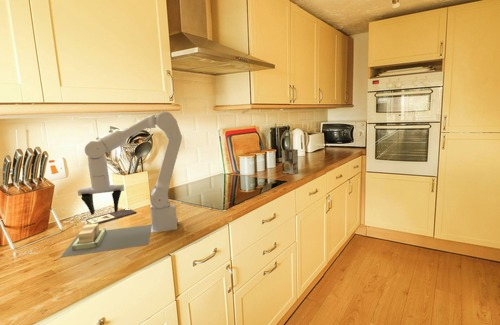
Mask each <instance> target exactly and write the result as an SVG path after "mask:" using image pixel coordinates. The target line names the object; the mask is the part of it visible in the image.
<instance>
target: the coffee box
mask: <svg viewBox="0 0 500 325" xmlns="http://www.w3.org/2000/svg"><path fill="white" fill-rule="evenodd" d="M298 153H299V152H298V149H293V148H285V149H282V150H281V162H282V163H281V165H282V166H281V168H282V169H281V170H282V174H286V173H289V174H288V175H296V174H298V173H299V160H298V159H299V158H298V156H299V155H298ZM295 173H296V174H295Z"/></svg>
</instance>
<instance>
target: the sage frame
mask: <svg viewBox="0 0 500 325" xmlns="http://www.w3.org/2000/svg"><path fill="white" fill-rule="evenodd" d="M106 230H107V228H99V232H100V234H99V236H98V237H97V239H96V241H95V242H89V243H82V244H79V237H78V239H77V240H76V241H75V242H74V244H73V245H72V250H79V249H86V248H93V247H98V246H99V244H100V242H101V241H102V239H103V237H104V235H105V234H106Z"/></svg>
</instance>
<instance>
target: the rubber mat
mask: <svg viewBox="0 0 500 325" xmlns="http://www.w3.org/2000/svg"><path fill="white" fill-rule="evenodd" d="M151 228H152V224H145V225H144V224H143V225H137V226H129V227H122V228H114V229H106V234H105V235H104V237H103V239H102V241H101V242H100V244H99V246H98V247H93V248H86V249H79V250H72V245H73V244H74V242H75V241H76V240H77V239H78V234H77V235H76V236H75V238H74V239H73V241H72V242H71V243H70V245H69V246H68V247H67V248H66V250H64V252H63V253H62V254H61V256H60V257H59V258H68V257H73V256H79V255H80V256H81V255H87V254H95V253H101V252H102V253H103V252H108V251H116V250H121V249H122V250H123V249H128V248H129V249H130V248H135V247H136V248H137V247H144V246H149V243H150V238H151V234H152V233H151Z"/></svg>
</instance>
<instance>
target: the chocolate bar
mask: <svg viewBox="0 0 500 325" xmlns="http://www.w3.org/2000/svg"><path fill="white" fill-rule="evenodd" d="M125 209H126V208H124V209H123V208H122V209H120V210H119V209H118V211H117V212H115V211H111V212H108V213H105V214H101V215H98V216H94V217H90V218H86V219H85V221H86V220H87V221H88V222H87V221H86V222H87V223H89V224H96V223H98V224H99V225H100V224H104V223H107V222H111V221H114V220H118V219H121V218H124V217H128V216H132V215H135V214H137V211H135V210H133V209H131V208H129V209H130V210H125Z"/></svg>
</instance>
